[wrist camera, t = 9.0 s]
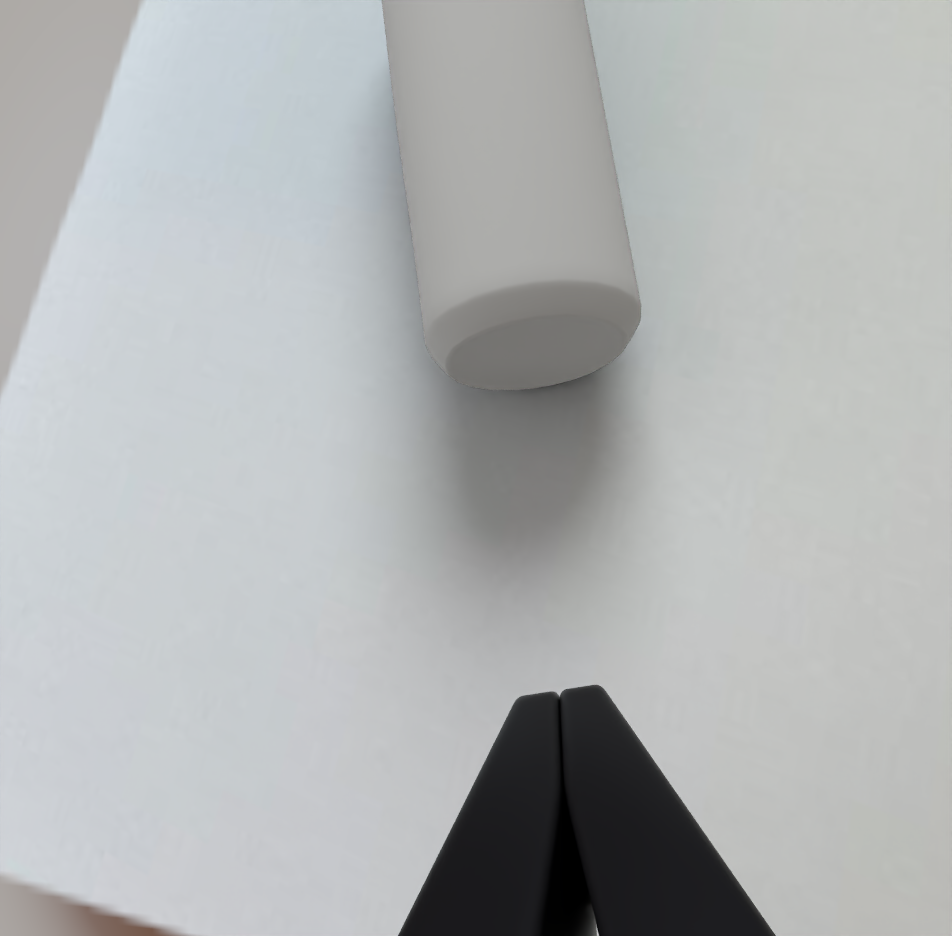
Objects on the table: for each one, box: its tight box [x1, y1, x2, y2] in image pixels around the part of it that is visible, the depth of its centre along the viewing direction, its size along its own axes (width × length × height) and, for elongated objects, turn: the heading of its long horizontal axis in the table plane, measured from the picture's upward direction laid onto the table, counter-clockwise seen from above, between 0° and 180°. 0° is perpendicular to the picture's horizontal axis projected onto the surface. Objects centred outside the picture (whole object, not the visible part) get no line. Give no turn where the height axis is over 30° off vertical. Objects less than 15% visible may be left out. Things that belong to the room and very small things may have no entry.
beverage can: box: [382, 0, 641, 390], centre depth 21 cm, size 5×5×12 cm
